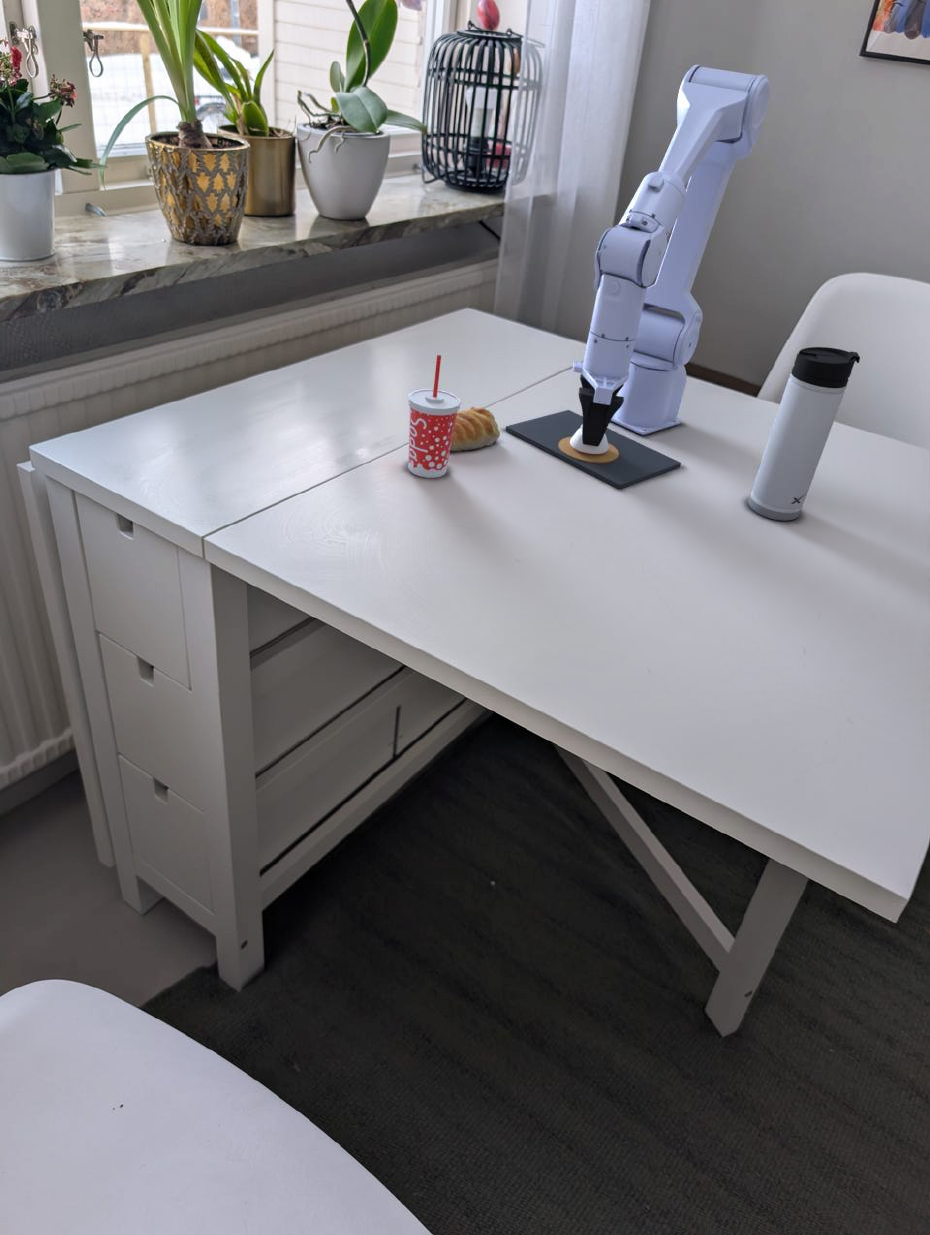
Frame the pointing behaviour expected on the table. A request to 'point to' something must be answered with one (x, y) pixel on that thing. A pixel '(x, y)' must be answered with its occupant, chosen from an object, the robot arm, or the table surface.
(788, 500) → the travel mug
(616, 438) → the mat
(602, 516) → the table surface
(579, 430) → the lidless jar
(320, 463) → the table surface
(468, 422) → the pastry
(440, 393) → the beverage cup
